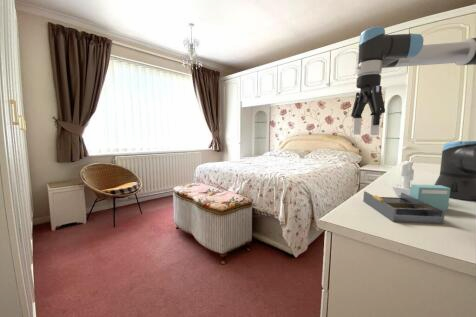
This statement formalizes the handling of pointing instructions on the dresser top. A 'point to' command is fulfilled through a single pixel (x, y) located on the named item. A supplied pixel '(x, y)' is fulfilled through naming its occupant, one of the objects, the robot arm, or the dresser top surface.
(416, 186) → the teal box
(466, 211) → the dresser top surface
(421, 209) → the tray
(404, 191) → the figurine
